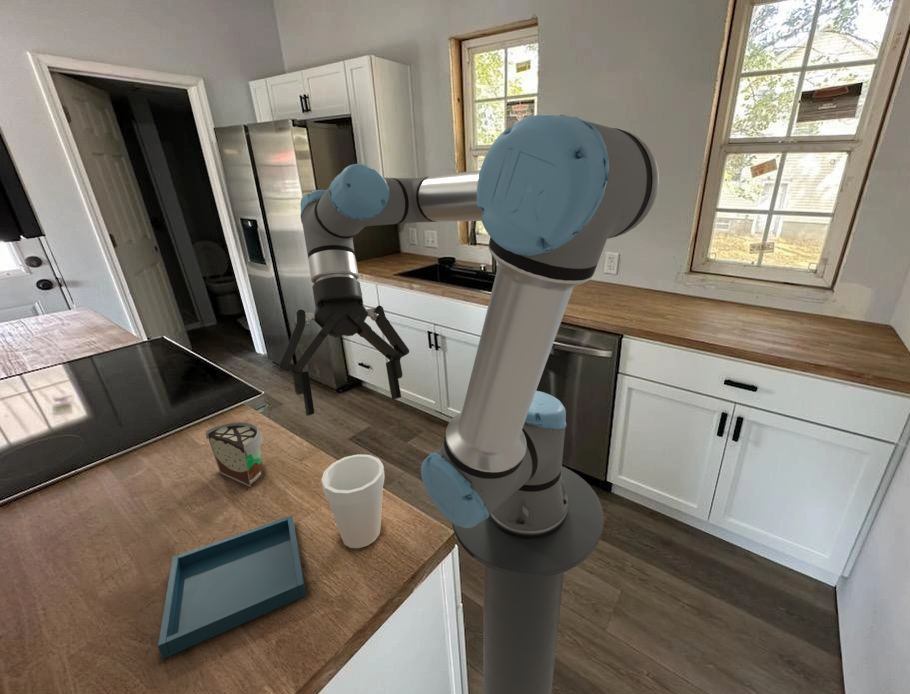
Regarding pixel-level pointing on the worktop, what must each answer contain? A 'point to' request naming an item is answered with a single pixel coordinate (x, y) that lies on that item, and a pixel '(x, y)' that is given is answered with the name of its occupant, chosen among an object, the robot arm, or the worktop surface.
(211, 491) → the worktop surface
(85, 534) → the worktop surface
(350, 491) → the foam cup
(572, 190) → the robot arm
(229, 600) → the tray
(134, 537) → the worktop surface
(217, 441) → the food container
